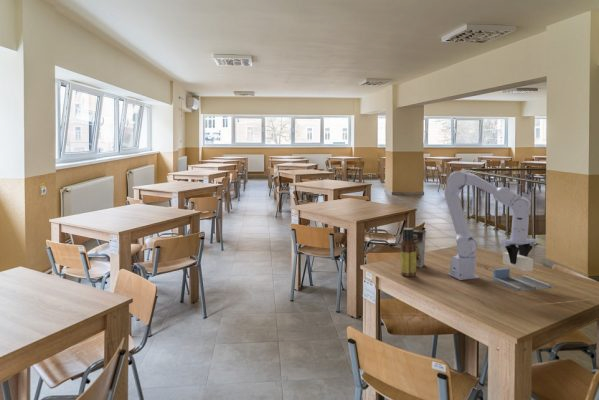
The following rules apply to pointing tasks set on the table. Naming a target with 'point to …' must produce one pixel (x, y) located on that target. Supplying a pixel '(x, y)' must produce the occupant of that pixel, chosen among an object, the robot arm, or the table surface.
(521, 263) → the cream rectangular block
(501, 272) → the board
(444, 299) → the table surface
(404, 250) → the sauce bottle
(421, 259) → the coffee box
